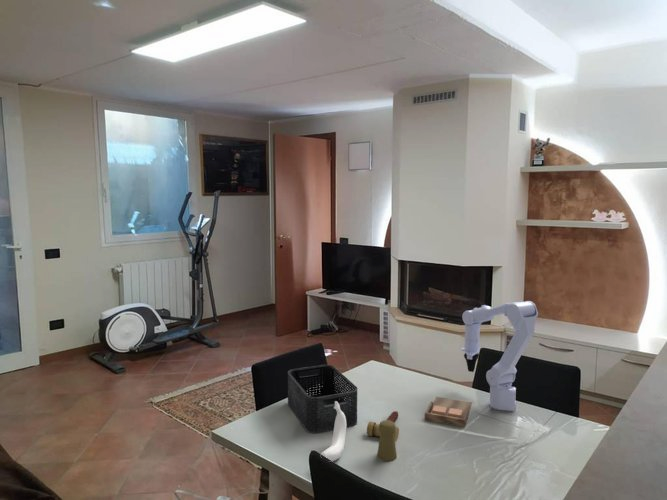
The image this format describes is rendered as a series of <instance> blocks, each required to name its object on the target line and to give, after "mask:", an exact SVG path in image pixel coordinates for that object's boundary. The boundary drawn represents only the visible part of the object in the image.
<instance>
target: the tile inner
mask: <svg viewBox="0 0 667 500" xmlns="http://www.w3.org/2000/svg"><path fill="white" fill-rule="evenodd" d="M448 416H450V417H456V418H462V417H463V410H459V409H453V408H450V410H449V412H448Z"/></svg>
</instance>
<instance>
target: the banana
mask: <svg viewBox="0 0 667 500" xmlns="http://www.w3.org/2000/svg"><path fill="white" fill-rule="evenodd" d="M334 409H336V411H337V416H336V419H335V424H334V430H332V431H333V433H332V438H331V443H330V446H329V447H327V448H326V449H325V450H323V451H322V452H321V453H320V456H321V455H323V456H325V457H326V458H328V459H330V460H331V461H330V462H333V461H337V460H338V459H340V457H341V456H342V454H343V452H344V448H345V443H346V437H347V427H346V417H345V415H344V413H343V412H342V411H341V410H340V405H339V404H338V402H337V401H335V406H334Z"/></svg>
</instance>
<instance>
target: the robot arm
mask: <svg viewBox="0 0 667 500" xmlns="http://www.w3.org/2000/svg"><path fill="white" fill-rule="evenodd" d="M499 315H504V316H505V317H507V319H508V320H509V321H508V322H510V324H511V326H512V327H513V329H514V330H515V332H514V334H513V336H512V338H511V339H510V341H509V343H508V345H507V347H506V349H505V351H504V352H503V354H502V356H501V358H500V360H499V361H497V363H495V364H494V365H492V367H491V369H489V370H487V371H486V374H485V377H486V381H487V383H488V386H489V387H490V388H489V407H491V408H492V409H494V410H500V411H510V412H515V411H516V410H515V409H516V408H517V401H516V398H517V397H516V394H517V391H516V390H517V387H515V386H512V385H513V383H514V382H515V379H516V374H517V372H518V370H517V368H516V366H517V363H518V362H519V360H520V358H521V356H522V355H523V353H524V351H525V349H526V348H527V346H528V344H529V342H530V341H531V339H532V338H533V336H534V333H535V328H536V320H537V318H538V316H539V311H538V309H537V305H536V303H534V302H533V301H531V300H526V301H517V302H516V301H514V302H513V301H512V302H506V303H503V304H499V305H496V306H494V307H492V306H489V305H486V304H482V305H481V306H480V307H474V308H473V309H471V310H465V311H463V313H462V316H461V318H462V321H463V323H464V347H461V351H462V352H463V351H464V354H463V357H464V359H465V362H466V366H467V370H468V372H470V373H471V372H472V373H474V372H475V369H476V364H477V363H476V362H477V360H478V359H479V357H480V333H481V332H480V331H481V329H480V328H481V327H482V323H485V322H490V321H492V320H493V319H494V317H495V316H499Z"/></svg>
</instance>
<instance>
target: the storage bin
mask: <svg viewBox="0 0 667 500" xmlns="http://www.w3.org/2000/svg"><path fill="white" fill-rule="evenodd" d="M313 371H318V373H317V374H311V375H305V376H299V373H306V372H313ZM358 389H359V388H358V386H357V385H355V384H354V383H353V382H352V381H351V380H350V379H348V378H347V377H346V376H345V374H343V373H342V372H341V371H339V370H338V369H337V368H336V367H335V366H334V365H332V364H320V365H313V366H305V367H299V368H292V369H289V370H288V371H287V405H288V406H289V408H290V409H291V411H292V412H293V414H294V415H295V416H296V418H297V419H298V421H299V422H300V423H301V426H302V427H304V429H305V430H306V432H308V433H311V434H319V433H320V434H321V433H324V432H328V431H329V432H330V431H334V424H335V419H336V416H337V411H336V409H334V406H335V401H337V402H338V404H339V405H340V410H341V411H342V412H343V413H344V415H345V417H346V428H349V427H353V426H356V425H357V424H358Z"/></svg>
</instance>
